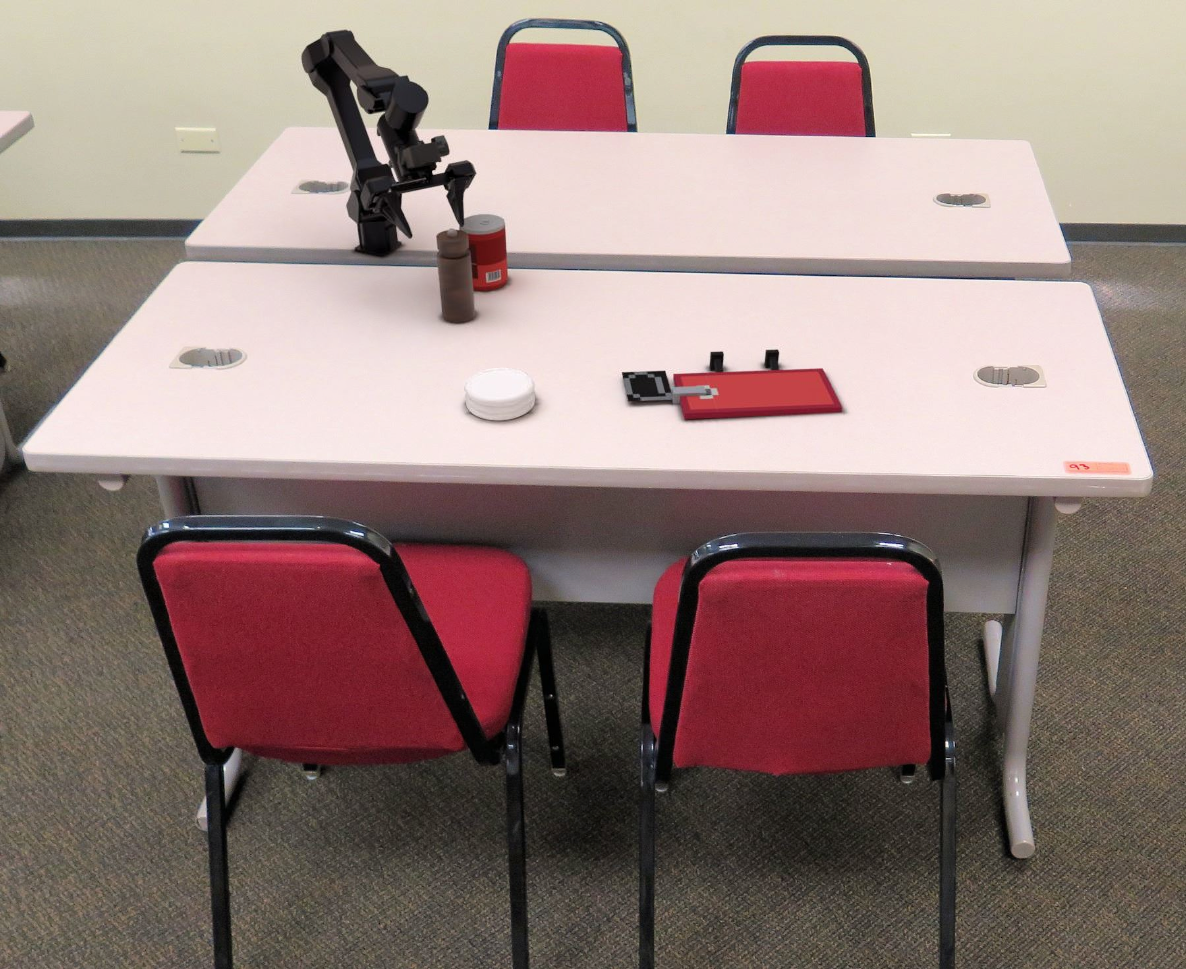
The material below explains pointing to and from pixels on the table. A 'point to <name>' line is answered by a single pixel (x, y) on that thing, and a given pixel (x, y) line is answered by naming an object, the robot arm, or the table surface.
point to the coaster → (499, 394)
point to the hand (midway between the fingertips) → (437, 231)
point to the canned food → (487, 250)
